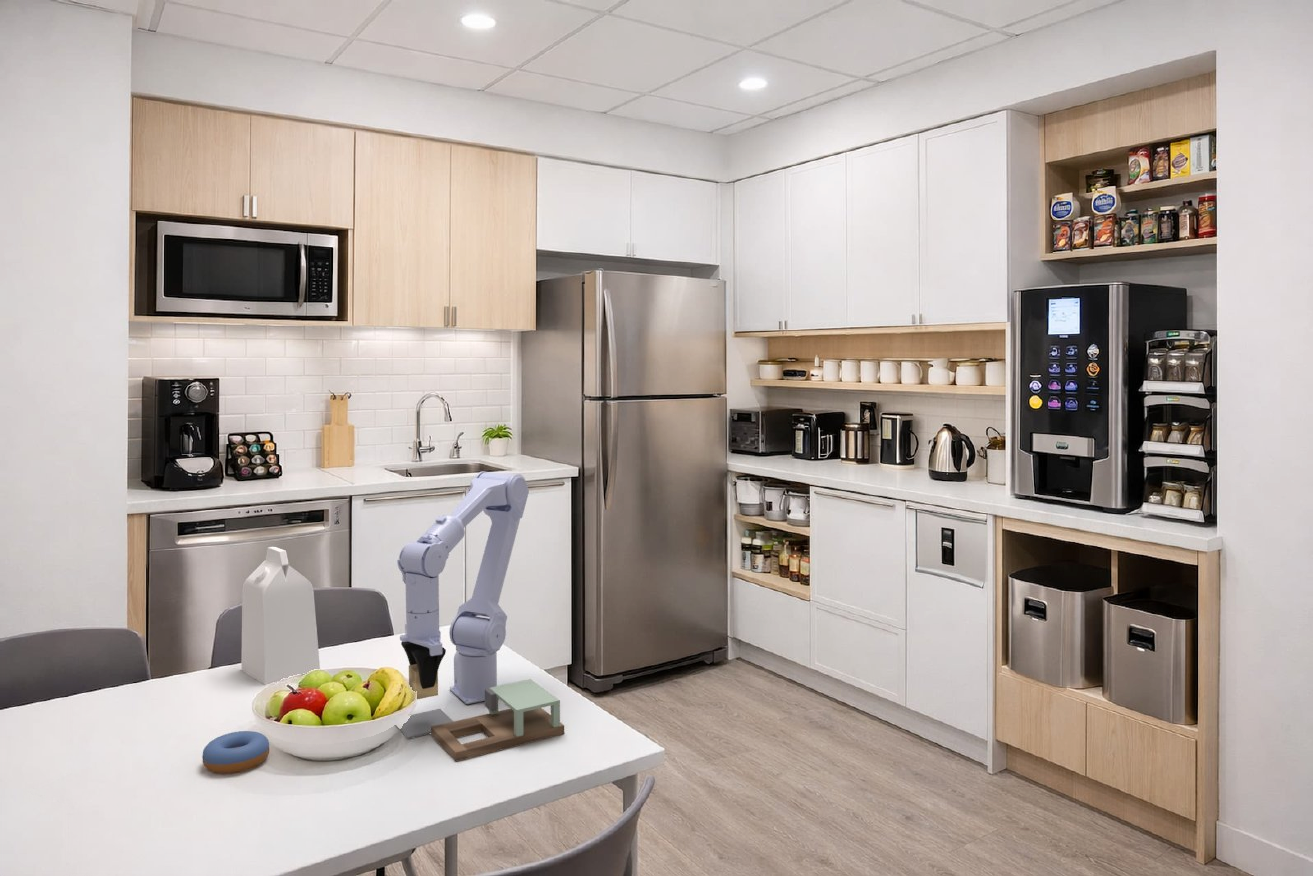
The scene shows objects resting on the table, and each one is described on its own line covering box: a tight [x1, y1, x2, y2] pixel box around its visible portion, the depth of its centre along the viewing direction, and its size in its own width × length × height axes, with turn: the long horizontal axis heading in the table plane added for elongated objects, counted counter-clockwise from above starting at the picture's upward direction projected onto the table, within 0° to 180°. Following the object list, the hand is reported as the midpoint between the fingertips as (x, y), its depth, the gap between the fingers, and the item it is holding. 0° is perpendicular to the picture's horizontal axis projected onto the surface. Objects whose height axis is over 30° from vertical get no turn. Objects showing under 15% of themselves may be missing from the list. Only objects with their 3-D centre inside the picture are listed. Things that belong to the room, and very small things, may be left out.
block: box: [408, 664, 439, 700], centre depth 158 cm, size 4×4×5 cm
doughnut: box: [201, 730, 270, 775], centre depth 143 cm, size 10×10×5 cm
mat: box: [399, 708, 454, 740], centre depth 158 cm, size 9×9×1 cm
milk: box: [240, 546, 321, 686], centre depth 184 cm, size 12×12×26 cm
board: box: [430, 708, 565, 762], centre depth 154 cm, size 12×20×2 cm, turn 123°
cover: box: [484, 678, 561, 737], centre depth 157 cm, size 12×9×5 cm
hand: (423, 683), depth 158 cm, fingers closed on block, 4 cm apart
